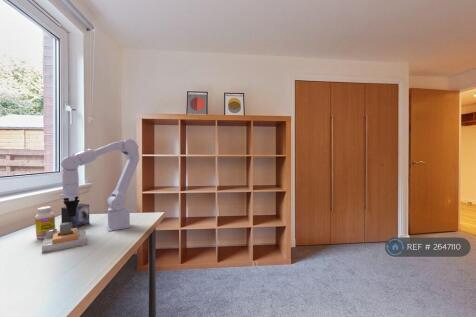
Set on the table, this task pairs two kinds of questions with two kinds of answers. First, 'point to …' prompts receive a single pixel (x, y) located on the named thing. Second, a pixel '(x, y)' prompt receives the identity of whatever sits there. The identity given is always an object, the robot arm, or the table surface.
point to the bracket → (65, 236)
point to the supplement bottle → (44, 221)
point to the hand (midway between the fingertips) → (71, 214)
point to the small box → (76, 216)
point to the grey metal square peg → (65, 228)
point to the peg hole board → (48, 245)
